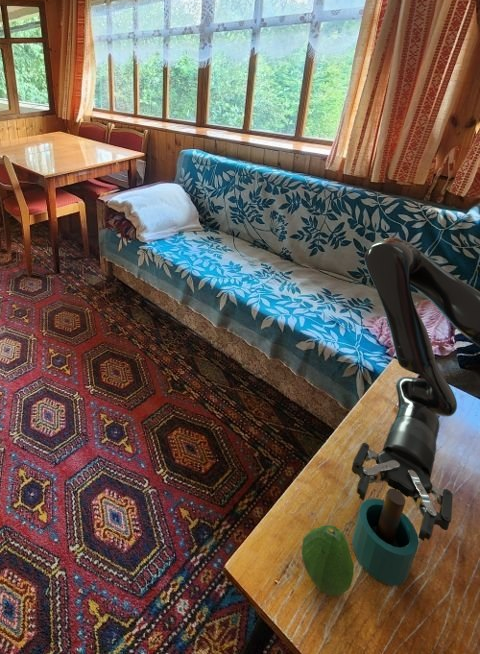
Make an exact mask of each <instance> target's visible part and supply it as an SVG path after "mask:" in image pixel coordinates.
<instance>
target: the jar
mask: <svg viewBox="0 0 480 654" xmlns="http://www.w3.org/2000/svg"><path fill="white" fill-rule="evenodd" d="M384 500H385V499H381V498H373V497H372V498H367V499H364V501H362V502H361V503H360V506H359V509H358V513H357V517H356V523H355V526H354V530H353V534H352V549H353V552H354V554H355V557H356V560H358V562H359V564H360V565H361V566H362V568H363V569H364V570H365V571H366V572H367V573H368V574H369V575H370V576H371V577H373V578H374V579H376V580H377V581H379V582H380V583H382V584H384V585H387V586H391V587H397V586H401V585H403V584H404V583H405V582H406V581H407V579H408V578H409V574H410V572H411V568H412V566H413V563H414V560H415V557H416V554H417V551H418V547H419V543H420V542H419V538H418V537H419V534H418V533H417V530H416V528H415V526H414V524H413V522H412V521H411V520H410V519H409V517H408V516H406V514H405V513H404V512H402V515H401V519H400V522H399V526H398V529H397V532H396V536H395V538H396V540H397V542H398V545H399V547H394V546H392V545H390V544H387V543H385V542H384V541H383V540H381V539H380V538H379V537H378V536H377V535H376V534H375V533H374V532H373V530H372V529H371V527H373V526H378V523H379V519H380V515H381V511H382V508H383V504H384Z"/></svg>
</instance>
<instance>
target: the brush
mask: <svg viewBox="0 0 480 654" xmlns="http://www.w3.org/2000/svg"><path fill="white" fill-rule="evenodd" d="M383 500H384V504H383V508H382V511H381V515H380V519H379V523H378V526H373V527H371V529H372V530H373V532H374V533H375V534H376V535H377V536H378V537H379V538H380V539H381V540H383V541H384V542H385V543H387V544H390V545H392V546H394V547H399V545H398V542H397V540H396V538H395V536H396V532H397V529H398V526H399V522H400V519H401V515H402V513H404V509H405V505H406V498H405V495H403V494H402V493H401V492H400V491H398V490H396V489H394V488H392V487H389V488H388V489H387V490H386V493H385V497H384V499H383Z"/></svg>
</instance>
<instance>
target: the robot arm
mask: <svg viewBox="0 0 480 654" xmlns="http://www.w3.org/2000/svg"><path fill="white" fill-rule="evenodd" d="M363 259H364V265H365V267H366V271H367V272H368V275H369V277H370V279H371V281H372V283H373V285H374V289H375V290H376V293H377V296H378V298H379V300H380V303H381V305H382V308H383V311H384V314H385V318H386V320H387V323H388V327H389V328H388V329H389V331H390V336H391V339H392V344H393V348H394V351H395V356H396V360H397V363H398V365H399V366H400V367H401V368H402V369H403V370H406V371H408V372H411V373H413V374H416V375H418V376H420V377H422V378H419V377H413V376H402V377H400V378H399V379H397V380H396V384H395V391H396V392H395V393H396V396H397V412H396V415H395V417H394V420H393V422H392V423H391V425H390V427H389V430H388V433H387V434H386V439H385V440H384V441H385V442H384V444H383V447H382V450H381V451H380V452H379V453H377V452H376V451H374V450H372V449H370V445H369V444H368V443H367V442H362V443H361V445H360V447H359V448H358V451H357V453H356V454H355V457H354V458H353V460H352V466H351V472H352V473H353V474H355V475H357V476H358V477H359V480H358V483H357V486H356V494H357V495H359V497H358V498H359V499H360V500H361V501H362V502H364V501H365V498H366V496H367V494H368V493H367V492H368V490H369V486H370V484H372V483H376V484H381V483H387V486H389V488H393V489H396V490H398V491H399V492H400V493H402V495H403V496H404V497H407V498H411V500H412V502H413V503H414V505H415V507H416V509H417V510H419V512H420V513H421V515H422V519H421V523H420V528H419V533H418V539H419V540H422V541H423V542H424V541H425V539H426V541H429V540H431V538H432V536H433V532H434V526H439V527H440V528H441V529H442V530H443V531H447V530H448V529H449V525H450V524H451V521H452V514H453V513H452V512H453V498H454V497H453V493H452V491H451V490H450V489H447V488H444V489H443V490H442V489H441V488H439V487H437V486H435V485H433V482H432V481H431V478H432V473H433V468H434V464H435V461H436V454H437V441H438V437H439V433H440V428H441V424H440V419H439V417H438V416H440V417H444V418H445V417H447V418H448V417H449V418H450V417H452V416H453V415H454V414H456V411H457V409H458V402H457V398H456V396H455V393H454V391H453V389H452V387H451V385H450V384H449V383H448V381H447V380H446V378H445V377H444V374H443V373H442V371H441V369H440V367H439V365H438V363H437V360H436V358H435V353H434V350H433V345H432V342H431V339H430V338H431V337H430V335H429V333H428V330H427V327H426V325H425V323H424V321H423V319H422V317H421V315H420V314H419V311H418V309H417V308H416V305H415V302H414V299H413V295H412V290H411V289H412V288H414V289H415V290H416V291H418V292H419V293H421V294H422V295H423V296H425V297H426V298H427V299H428V300H429V302H431V303H432V304H433V305H434V306H435V307H436V309H437V310H438V311H439V312H440V313H441V314H442V315H443V316H444V318H445V319H446V320H447V321H448V322H449V323H450V324H451V325H452V326H453V327H454V328H455V329H456V330H457V331H458V332H459V333H460V334H462V335H463V336H464V337H466V338H467V339H468V340H470V342H472V343H474V344H475V345H476V346H478V347H479V348H480V291H479V290H478V289H476V288H475V287H473V286H472V285H469V284H468V283H466V282H465V281H463V280H461V279H459V278H458V277H457V276H454V275H453V274H451V273H449V272H448V271H446V269H444V268H443V267H441V266H440V265H438V263H436V262H435V261H434V260H433V259H431V258H429V257H428V256H427V255H426V254H425V253H423V252H422V251H421V250H420V249H418V248H417V247H416V246H415V245H413V244H412V243H410V242H408V241H406V240H404V239H402V238H397V237H387V238H383V239H381V240H379V241H377V242H375V243H374V244H372V245H371V246H369V248H367V250H366V251H365V254H364V258H363ZM411 287H412V288H411ZM373 460H374V461H375V464H374V465H372V466H370V467H364V464H365V462H369V461H373ZM430 494H431V495H433V496H434V499H435V501H436V503H437V504H438V505H439V511H436V509H435V508H434V506H433V504H432V501H431V500H430V496H429V495H430Z"/></svg>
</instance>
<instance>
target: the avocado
mask: <svg viewBox="0 0 480 654" xmlns="http://www.w3.org/2000/svg"><path fill="white" fill-rule="evenodd" d="M301 557H302V563H303V565H304V568H305V570H306V573H307V575H308V577H309V578H310V580H311V582H312V583H313V584H314V586H315V587H316V588H317V589H318V590H319V591H320V592H322V593H323V594H325V595H326V596H328V597H339V596H341V595H344V594H345V593H346V592H347V591H348V590H349V589H350V588H351V586H352V583H353V580H354V579H353V578H354V570H355V569H354V567H355V564H354V562H353V558H352V554H351V551H350V548H349V545H348V541H347V538H346V536H345V535H344V533H343V531H341V530H340V529H339V528H338V527H337V526H335V525H331V524H325V525H321V526H318V527H315V528H313V529H312V530H310V531H309V532H308V533H307V534H306V535H305V536H304V537H303V539H302V546H301Z"/></svg>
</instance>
